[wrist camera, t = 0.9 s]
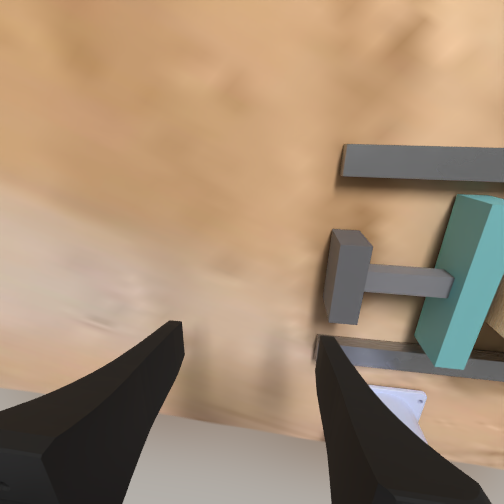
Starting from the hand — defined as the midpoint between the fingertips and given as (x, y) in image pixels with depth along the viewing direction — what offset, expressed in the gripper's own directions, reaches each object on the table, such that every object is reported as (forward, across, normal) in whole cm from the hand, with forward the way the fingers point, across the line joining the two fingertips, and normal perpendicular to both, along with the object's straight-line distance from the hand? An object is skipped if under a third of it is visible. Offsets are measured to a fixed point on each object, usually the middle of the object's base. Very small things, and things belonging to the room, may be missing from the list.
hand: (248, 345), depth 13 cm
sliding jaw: (+10, -10, 0) cm, 14 cm away
